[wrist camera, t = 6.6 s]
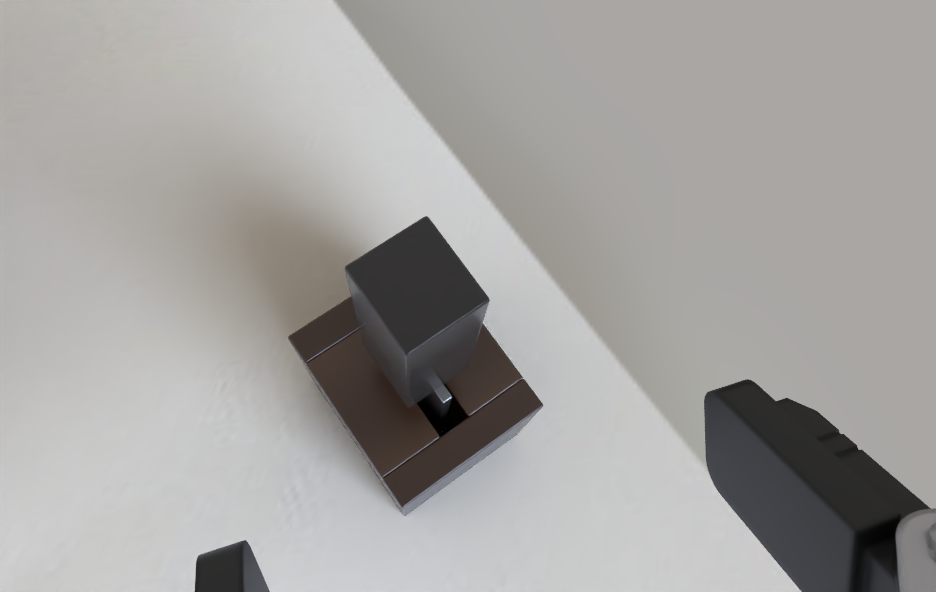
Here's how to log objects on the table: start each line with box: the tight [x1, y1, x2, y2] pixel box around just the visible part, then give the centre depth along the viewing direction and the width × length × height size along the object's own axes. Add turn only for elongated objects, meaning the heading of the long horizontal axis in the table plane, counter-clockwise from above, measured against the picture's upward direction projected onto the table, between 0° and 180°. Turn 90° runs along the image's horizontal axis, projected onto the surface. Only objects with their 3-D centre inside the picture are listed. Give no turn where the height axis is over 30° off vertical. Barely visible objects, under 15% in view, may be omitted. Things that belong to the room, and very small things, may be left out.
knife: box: [345, 216, 489, 437], centre depth 22 cm, size 3×2×14 cm, turn 36°
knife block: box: [288, 297, 543, 516], centre depth 26 cm, size 6×5×6 cm
